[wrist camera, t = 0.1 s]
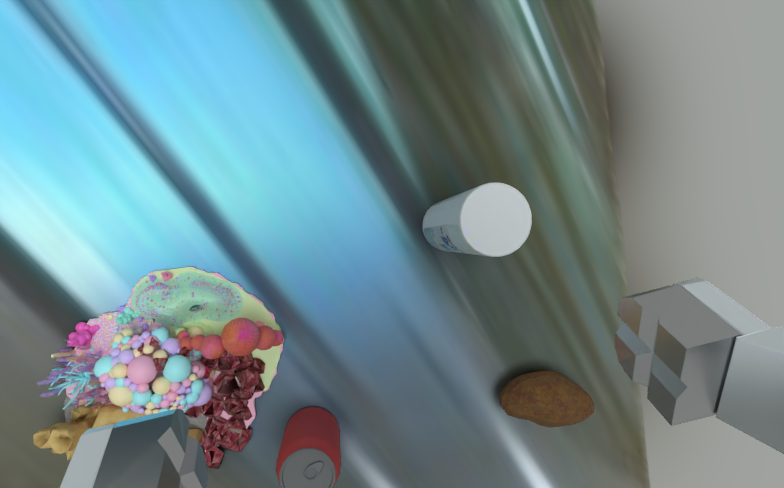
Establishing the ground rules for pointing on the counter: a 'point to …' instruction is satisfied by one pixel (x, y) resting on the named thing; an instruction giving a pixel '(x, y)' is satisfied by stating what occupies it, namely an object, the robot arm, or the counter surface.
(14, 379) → the counter surface
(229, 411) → the candy landscape model
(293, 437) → the beer can
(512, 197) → the spray can
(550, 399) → the potato
